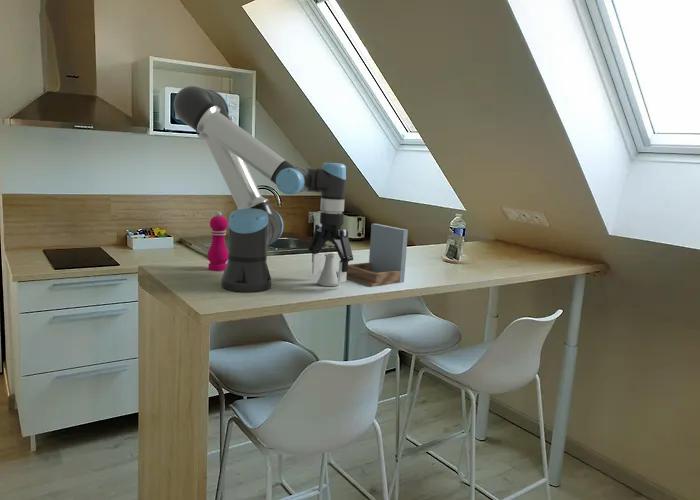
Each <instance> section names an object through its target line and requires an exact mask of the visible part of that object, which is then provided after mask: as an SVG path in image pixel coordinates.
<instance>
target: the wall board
mask: <svg viewBox="0 0 700 500" xmlns="http://www.w3.org/2000/svg"><path fill="white" fill-rule="evenodd" d="M370 229H371V230H370V244H369V256H368V257H369V258H368V263H372V267H371V272H375V273H380V272H388V271H396V270H398V271H401V274H400V283H404V282H405V273H406V261H407V260H406V259H407V247H408V238H409V237H408V234H409V229H406V228H405V229H404V228H400V227H395V226H390V225H385V224H380V223H371V225H370ZM400 283H399V284H400Z"/></svg>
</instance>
